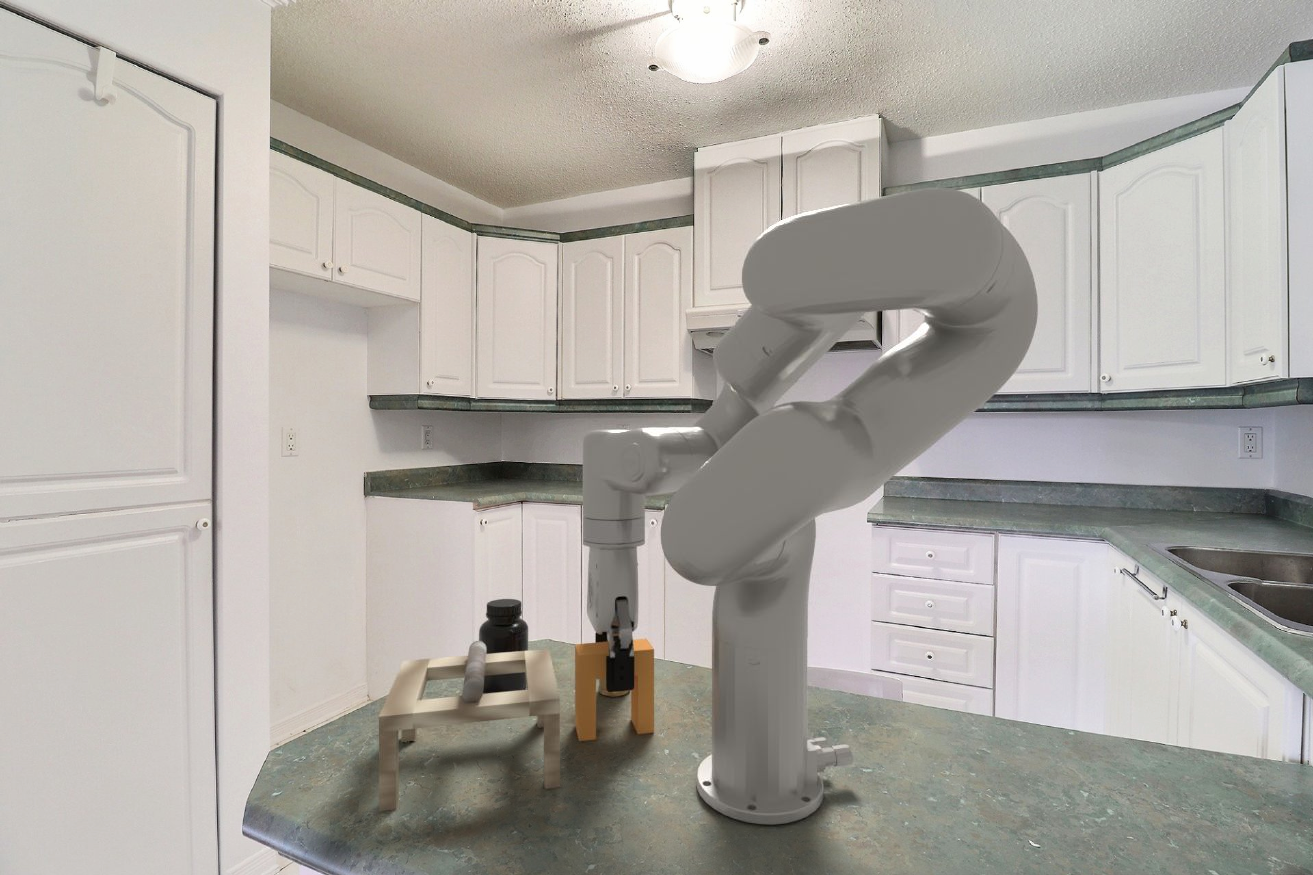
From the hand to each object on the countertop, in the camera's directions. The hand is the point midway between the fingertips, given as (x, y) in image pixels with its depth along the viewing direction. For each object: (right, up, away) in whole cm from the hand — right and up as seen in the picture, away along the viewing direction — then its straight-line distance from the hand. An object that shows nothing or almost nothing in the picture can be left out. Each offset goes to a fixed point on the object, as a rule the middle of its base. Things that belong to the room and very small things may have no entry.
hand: (613, 675), depth 76 cm
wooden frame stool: (-15, -7, -7) cm, 18 cm away
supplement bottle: (-16, -7, +12) cm, 22 cm away
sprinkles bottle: (-1, -7, +11) cm, 13 cm away
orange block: (0, -7, 0) cm, 7 cm away
